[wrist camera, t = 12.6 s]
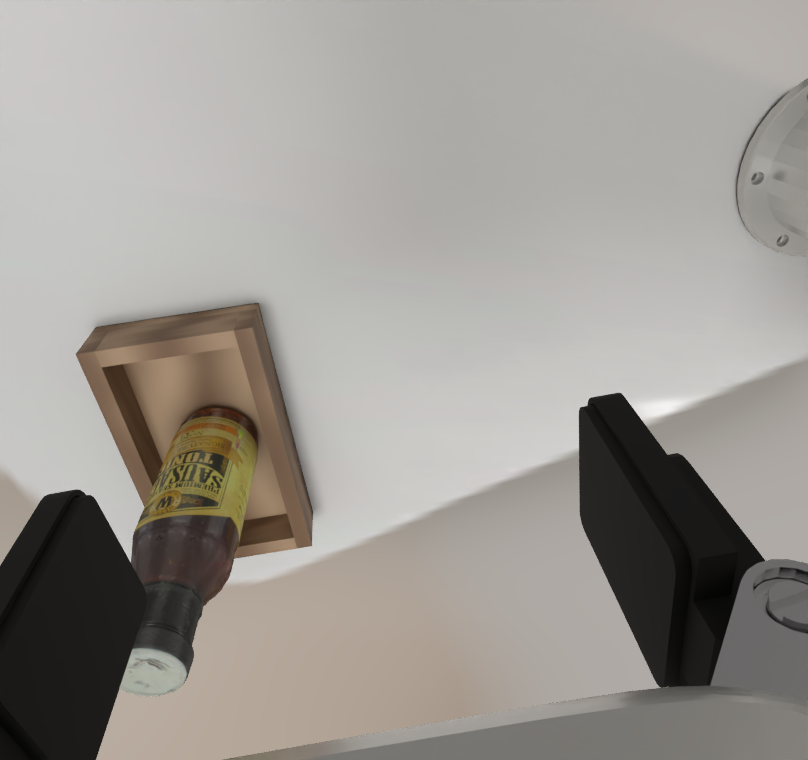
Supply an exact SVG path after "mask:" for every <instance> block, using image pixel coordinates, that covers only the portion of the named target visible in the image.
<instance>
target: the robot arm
mask: <svg viewBox="0 0 808 760" xmlns="http://www.w3.org/2000/svg"><path fill="white" fill-rule="evenodd" d="M737 200H738V205H739V211H740V215H741V217H742V220H743V222H744V224H745V226H746V228H747V229H748V230H749V232H750V233H751V234H752V235H753V237H754V238H755V239H757V240H758V241H760V242H761V243H762V244H764V245H765V246H767V247H769V248H771V249H773V250H775V251H777V252H780V253H784V254H788V255H793V256H808V79H806V80H804V81H803V82H802V83H800V84H799V85H798V86H796V87H795V88H794V89H792V90H791V91H790V92H788V93H787V94H786V95H785V96H784V97H783V98H782V99H781V100H780V101H779V102H778V103H777V104H776V105H775V106H774V107H773V108H772V109H771V111H770V112H769V113H768V115H767V116H766V117H765V119H764V120H763V121H762V123H761V124H760V125H759V127H758V129H757V130H756V132H755V134H754V136H753V138H752V139H751V141H750V143H749V145H748V147H747V150H746V153H745V155H744V158H743V161H742V163H741V168H740V173H739V178H738V188H737ZM579 471H580V516H581V521H582V525H583V528H584V531H585V533H586V535H587V537H588V539H589V541H590V543H591V546H592V547H593V550H594V552H595V554H596V556H597V558H598V560H599V563H600V564H601V567H602V569H603V571H604V573H605V575H606V577H607V579H608V582H609V584H610V586H611V588H612V590H613V592H614V594H615V596H616V599H617V601H618V603H619V605H620V607H621V609H622V611H623V613H624V615H625V618H626V620H627V622H628V624H629V626H630V628H631V630H632V632H633V634H634V637H635V639H636V641H637V643H638V645H639V647H640V650H641V652H642V654H643V656H644V658H645V660H646V662H647V664H648V666H649V669H650V671H651V673H652V675H653V677H654V679H655V681H656V683H657V684H658V685H659V687H661V688H658V689H648V690H638V691H628V692H621V693H615V694H608V695H602V696H596V697H589V698H582V699H576V700H569V701H562V702H556V703H549V704H543V705H536V706H531V707H524V708H518V709H513V710H507V711H501V712H495V713H489V714H484V715H477V716H472V717H466V718H460V719H454V720H448V721H442V722H437V723H431V724H424V725H419V726H413V727H407V728H401V729H395V730H389V731H384V732H378V733H372V734H366V735H361V736H355V737H349V738H343V739H338V740H332V741H326V742H321V743H315V744H309V745H304V746H298V747H292V748H286V749H281V750H275V751H270V752H264V753H258V754H253V755H247V756H242V757H236V758H230V759H224V760H808V564H807V563H803V562H797V561H793V560H787V559H783V560H782V559H771V560H768V561H765V560H764V558H763V557H762V556H761V554H760V553H759V552H758V551H757V549H756V548H755V547H754V545H753V544H752V543H751V542H750V540H749V539H748V538H747V537H746V535H745V534H744V533H743V531H742V530H741V529H740V527H739V526H738V525H737V524H736V522H735V521H734V520H733V518H732V517H731V516H730V515H729V513H728V512H727V511H726V509H725V508H724V507H723V506H722V504H721V503H720V502H719V501H718V499H717V498H716V497H715V496H714V494H713V493H712V491H711V490H710V489H709V488H708V486H707V485H706V484H705V482H704V481H703V480H702V479H701V477H700V476H699V475H698V473H697V472H696V471H695V470H694V468H693V467H692V466H691V464H690V463H689V462H688V461H687V460H686V459H685V458H684V457H683V456H682V455H680V454H678V453H676V454H670V455H667V454H666V453H665V451H664V450H663V448H662V447H661V446H660V444H659V443H658V442H657V440H656V439H655V438H654V436H653V435H652V434H651V433H650V431H649V430H648V428H647V427H646V425H645V424H644V423H643V421H642V420H641V419H640V417H639V416H638V415H637V413H636V412H635V411H634V409H633V408H632V407H631V405H630V404H629V403H628V401H627V400H626V398H625V397H624V396H623V395H622V394H621V393H615V394H609V395H604V396H598V397H592V398H590V399H589V401H588V406H585V407H581V408H580V410H579ZM146 605H147V595H146V590H145V588H144V586H143V584H142V582H141V581H140V579H139V577H138V575H137V573H136V572H135V570H134V568H133V566H132V564H131V563H130V561H129V559H128V557H127V555H126V554H125V552H124V550H123V548H122V546H121V545H120V543H119V541H118V539H117V537H116V536H115V534H114V532H113V530H112V528H111V527H110V525H109V523H108V521H107V519H106V518H105V516H104V514H103V512H102V510H101V509H100V507H99V505H98V503H97V501H96V500H95V498H94V497H92V496H91V495H85V493H84V492H82V491H81V490H71V491H66V492H60V493H54V494H49V495H46V496H44V498H43V499H42V500H41V501H40V503H39V504H38V506H37V508H36V509H35V511H34V513H33V514H32V516H31V517H30V519H29V521H28V522H27V524H26V525H25V527H24V529H23V530H22V532H21V534H20V535H19V537H18V538H17V540H16V541H15V543H14V545H13V546H12V548H11V550H10V551H9V553H8V554H7V556H6V557H5V559H4V561H3V562H2V564H1V566H0V760H96V757H97V754H98V751H99V748H100V745H101V742H102V739H103V736H104V733H105V730H106V727H107V724H108V721H109V718H110V715H111V712H112V709H113V706H114V703H115V700H116V697H117V694H118V691H119V688H120V685H121V682H122V679H123V676H124V673H125V670H126V667H127V664H128V661H129V658H130V655H131V652H132V649H133V646H134V643H135V640H136V637H137V634H138V631H139V628H140V625H141V622H142V619H143V616H144V613H145V610H146ZM663 687H667V688H663Z"/></svg>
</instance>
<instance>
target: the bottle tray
mask: <svg viewBox="0 0 808 760" xmlns="http://www.w3.org/2000/svg"><path fill="white" fill-rule="evenodd" d="M76 356H77V358H78V360H79V363H80V365H81V367H82V369H83V372H84V374H85V376H86V378H87V380H88V383H89V385H90V387H91V389H92V392H93V394H94V396H95V398H96V400H97V403H98V405H99V407H100V409H101V412H102V414H103V416H104V418H105V420H106V423H107V425H108V427H109V429H110V432H111V434H112V436H113V438H114V440H115V443H116V445H117V447H118V449H119V451H120V454H121V456H122V458H123V460H124V463H125V465H126V467H127V469H128V471H129V474H130V476H131V478H132V480H133V483H134V485H135V487H136V489H137V491H138V494H139V496H140V498H141V500H142V503H143V505H144V507H145V505H146V503H147V500H148V498H149V495H150V493H151V491H152V488H153V486H154V483H155V481H156V479H157V477H158V474H159V472H160V469H161V467H162V464H163V462H164V460H165V457H166V455H167V453H168V450H169V448H170V445H171V443H172V440H173V438H174V436H175V434H176V432H177V431H178V429H179V428H180V426H181V425H182V423H184V422H185V421H186V420H187V418H189V417H190V416H192V415H193V414H194V413H196V412H197V411H199V410H201V409H208V408H210V407H213V408H216V407H217V408H225V409H230V410H234V411H236V412H238V413H241V414H242V415H244V416H245V417H247V418H248V420H250V421H251V423H252V424H253V425H254V427H255V430H256V431H257V435H258V457H257V462H256V467H255V472H254V476H253V481H252V486H251V490H250V495H249V499H248V503H247V508H246V513H245V517H244V522H243V527H242V531H241V536H240V541H239V545H238V548H237V550H236V552H235V554H234V559H235V558H241V557H247V556H253V555H259V554H265V553H271V552H278V551H284V550H290V549H296V548H302V547H308V546H312V520H313V511H312V507H311V504H310V500H309V496H308V492H307V488H306V484H305V481H304V477H303V473H302V469H301V465H300V461H299V458H298V454H297V450H296V446H295V442H294V438H293V435H292V431H291V427H290V423H289V419H288V415H287V412H286V408H285V404H284V400H283V396H282V392H281V389H280V385H279V381H278V377H277V373H276V369H275V366H274V362H273V358H272V354H271V350H270V346H269V343H268V339H267V335H266V331H265V327H264V323H263V319H262V316H261V312H260V308H259V304H258V303H255V304H248V305H241V306H235V307H228V308H222V309H215V310H208V311H202V312H195V313H188V314H182V315H175V316H168V317H162V318H155V319H148V320H142V321H135V322H128V323H122V324H115V325H108V326H102V327H96V328H95V329H94V331H93V332H92V333H91V335H90V336H89V337H88V339H87V340H86V341H85V343H84V344H83V345H82V347H81V348H80V349H79V351H78V352H77V353H76Z"/></svg>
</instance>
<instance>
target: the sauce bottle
mask: <svg viewBox="0 0 808 760" xmlns="http://www.w3.org/2000/svg"><path fill="white" fill-rule="evenodd" d="M257 457H258V435H257V431H256V430H255V427H254V425H253V424H252V423H251V421H250V420H248V418H247V417H245V416H244V415H242V414H241V413H238V412H236V411H234V410H230V409H225V408H217V407H216V408H213V407H210V408H208V409H201V410H199V411H197V412H196V413H194V414H193V415H192V416H190V417H189V418H187V420H186V421H185V422H184V423H182V425H181V426H180V428H179V429H178V431H177V432H176V434H175V436H174V438H173V440H172V443H171V445H170V448H169V450H168V453H167V455H166V457H165V460H164V462H163V464H162V467H161V469H160V472H159V474H158V477H157V479H156V481H155V483H154V486H153V488H152V491H151V493H150V495H149V498H148V500H147V503H146V505H145V508H144V510H143V513H142V515H141V517H140V520H139V522H138V525H137V527H136V529H135V532H134V535H133V545H132V558H131V564H132V566H133V568H134V570H135V572H136V573H137V575H138V577H139V579H140V581H141V582H142V584H143V586H144V588H145V590H146V595H147V605H146V610H145V613H144V616H143V619H142V622H141V625H140V628H139V631H138V634H137V637H136V640H135V643H134V646H133V649H132V652H131V655H130V658H129V661H128V664H127V667H126V670H125V673H124V676H123V679H122V682H121V685H120V688H119V689H120V690H123V691H125V692H128V693H132V694H135V695H141V696H160V695H164V694H167V693H170V692H173V691H175V690H177V689H179V688H180V687H181V686H182V685H183V684H184V683H185V681H186V679H187V677H188V674H189V670H190V667H191V664H192V662H193V658H194V651H193V648H192V642H193V639H194V635H195V631H196V627H197V623H198V620H199V618H200V617H201V615H202V609H203V606H204V605H206V604H207V602H208V601H209V600H211V599H212V598H213V597H215V596H216V595H217V594H218V593H219V592H220V591H221V589H222V588H223V586H224V584H225V583H226V581H227V580H228V578H229V576H230V572H231V569H232V565H233V561H234V554H235V552H236V550H237V548H238V545H239V541H240V536H241V531H242V527H243V522H244V517H245V513H246V508H247V503H248V499H249V495H250V490H251V486H252V481H253V476H254V472H255V467H256V462H257Z"/></svg>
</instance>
